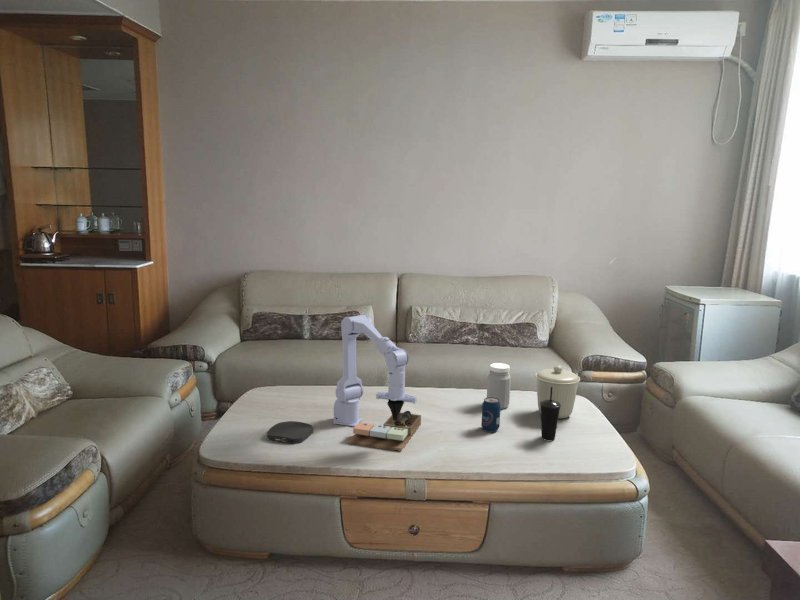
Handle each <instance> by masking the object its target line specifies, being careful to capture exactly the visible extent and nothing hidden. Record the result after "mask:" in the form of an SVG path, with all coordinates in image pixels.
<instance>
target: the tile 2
mask: <svg viewBox="0 0 800 600" xmlns="http://www.w3.org/2000/svg"><path fill="white" fill-rule="evenodd" d="M390 429H391V427H389V426H383V424H382V425H380V424H374V427H373V428H372V429H371V430H370V436H374V437H381V438H386V437H387V432H388V431H389V430H390Z"/></svg>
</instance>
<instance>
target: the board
mask: <svg viewBox="0 0 800 600" xmlns="http://www.w3.org/2000/svg"><path fill="white" fill-rule="evenodd" d="M402 413H403V412H401V411H400V414H399V419H398V420H400V416H401V414H402ZM392 421H393V416H392V414H391V415H390V417H389V418H388V419H387V420H386V421H385V422H384V423H383V424H382V426H389V427H391V428H392V427H396V428H403V429H408V434H407V436H406V437H405V438H404V440H403V441H401V440H394V439H388V438H387V437H386V438H381V437H374V436H370V435H369V436H367V435H361V434H353V435H352V436H351V437H350V438H349V440H348V444H350V445H353V446H354V445H355V446H356V445H357V446H361V447H367V446H369V448H374V447H376V449H381V448H383V449H382V450H387V449H392V450H391V451H394V450H398V451H397V452H400V451H403V450H404V449H405V447H407V445H408V443H409V442H410V441H411V439H412V438H413V437H414V435H415V433H416V432H417V431H418V429H419V428H420V427H421V425H422V415H421V414H416V413H411V417H410V418H409V419H408V420H406V421H405V424H406V423H408V422H409V423H411V424H410V426H409V427H408V426H407V427H402V426H398V425H396V424H395V425H392ZM419 426H420V427H419ZM416 430H417V431H416ZM413 434H414V435H413ZM411 437H412V438H411ZM409 440H410V441H409ZM406 444H407V445H406ZM403 448H404V449H403ZM402 449H403V450H402Z"/></svg>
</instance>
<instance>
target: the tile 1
mask: <svg viewBox="0 0 800 600" xmlns="http://www.w3.org/2000/svg"><path fill="white" fill-rule="evenodd" d="M374 426H375V424H373V423H365V422H361V421H360V422H359V423H358V424H357V425H356V426H353V427H352V434H353V435H355V434H361V435H367V436H369V435H370V430H371V429H372V428H373V427H374Z"/></svg>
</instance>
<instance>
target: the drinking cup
mask: <svg viewBox="0 0 800 600" xmlns="http://www.w3.org/2000/svg"><path fill="white" fill-rule="evenodd" d="M552 389H553V387H551V390H550V400H544V401H541V402H540V405H541V413H540V422H541V423H540V424H541V427H540V428H541V429H540V431H541V439H542V438H543V439H542V440H544V439H545V440H544V441H547V440H552V441H555V439H556V434H557V433H556V432H557V428H558V421H559V419H558V417H559V411H560V407H561V404H560V403H559V402H557V401H555V400H552Z"/></svg>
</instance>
